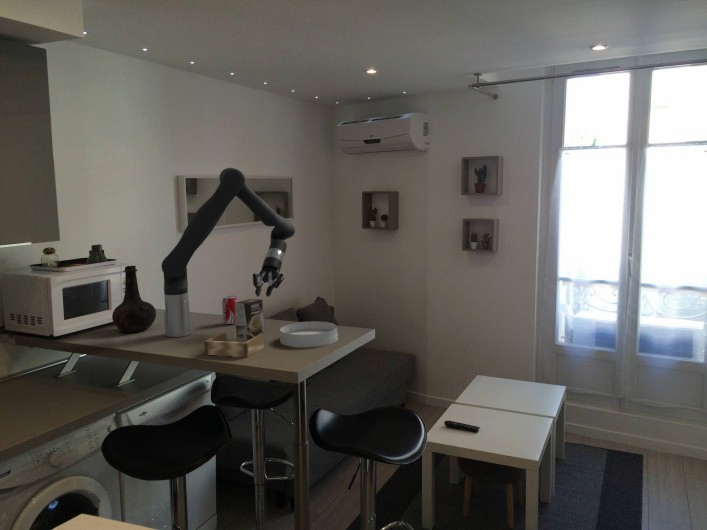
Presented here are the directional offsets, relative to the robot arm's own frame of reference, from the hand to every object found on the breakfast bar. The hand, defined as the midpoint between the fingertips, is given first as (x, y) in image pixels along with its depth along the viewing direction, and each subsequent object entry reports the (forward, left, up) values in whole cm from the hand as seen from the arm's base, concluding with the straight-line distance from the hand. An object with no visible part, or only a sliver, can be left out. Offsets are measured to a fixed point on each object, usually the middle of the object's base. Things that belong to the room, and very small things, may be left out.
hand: (262, 295), depth 222 cm
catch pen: (0, -24, -16) cm, 29 cm away
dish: (+21, -5, -17) cm, 27 cm away
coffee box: (0, -12, -16) cm, 20 cm away
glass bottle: (-61, 0, -16) cm, 63 cm away
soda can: (-24, +17, -16) cm, 34 cm away
